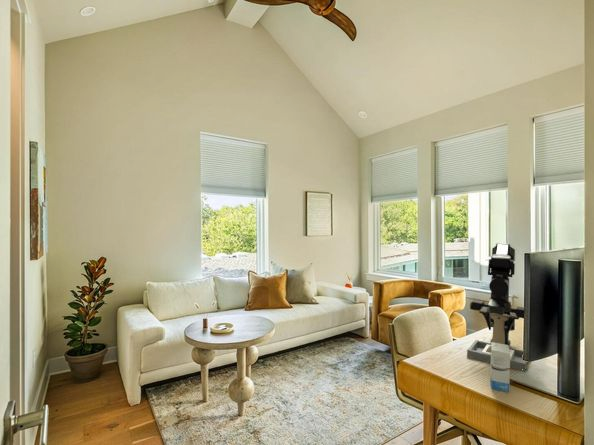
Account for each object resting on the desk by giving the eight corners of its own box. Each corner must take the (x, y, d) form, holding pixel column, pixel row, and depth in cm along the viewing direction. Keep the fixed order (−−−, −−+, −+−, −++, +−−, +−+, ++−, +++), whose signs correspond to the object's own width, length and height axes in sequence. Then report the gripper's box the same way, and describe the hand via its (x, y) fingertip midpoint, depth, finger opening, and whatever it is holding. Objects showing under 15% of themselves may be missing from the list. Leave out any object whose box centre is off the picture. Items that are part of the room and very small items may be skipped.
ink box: (509, 393, 99) (510, 353, 99) (490, 388, 102) (491, 350, 101) (507, 381, 107) (508, 344, 106) (489, 377, 109) (490, 341, 109)
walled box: (475, 346, 136) (475, 339, 136) (529, 358, 125) (529, 351, 125) (467, 356, 125) (467, 349, 125) (524, 371, 114) (525, 363, 114)
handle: (508, 358, 121) (509, 317, 121) (488, 354, 125) (489, 314, 125) (508, 354, 126) (509, 314, 125) (488, 350, 129) (489, 311, 129)
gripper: (467, 289, 125) (466, 331, 125) (527, 298, 113) (526, 344, 113) (474, 285, 133) (473, 324, 133) (531, 292, 121) (529, 335, 122)
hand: (498, 331), depth 125 cm, fingers closed on handle, 5 cm apart
